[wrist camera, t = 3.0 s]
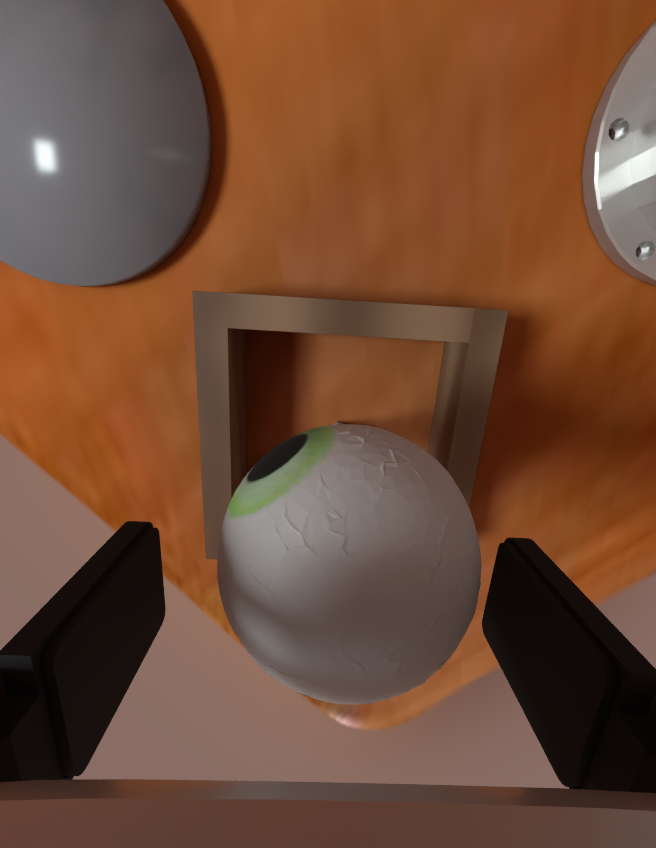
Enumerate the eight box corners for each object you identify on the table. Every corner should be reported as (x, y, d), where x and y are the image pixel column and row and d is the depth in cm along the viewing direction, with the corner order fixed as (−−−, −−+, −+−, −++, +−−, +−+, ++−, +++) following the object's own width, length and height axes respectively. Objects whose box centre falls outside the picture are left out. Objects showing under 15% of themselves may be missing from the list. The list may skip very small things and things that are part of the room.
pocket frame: (477, 310, 19) (508, 310, 16) (438, 535, 23) (456, 572, 20) (216, 294, 19) (192, 290, 16) (223, 523, 23) (206, 558, 20)
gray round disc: (205, -61, 15) (199, -81, 14) (216, 294, 19) (212, 293, 18) (-133, -86, 15) (-159, -107, 14) (-48, 278, 19) (-64, 276, 18)
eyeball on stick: (355, 341, 20) (420, 416, 5) (421, 440, 21) (604, 698, 7) (254, 412, 21) (89, 626, 7) (324, 501, 23) (313, 824, 8)
